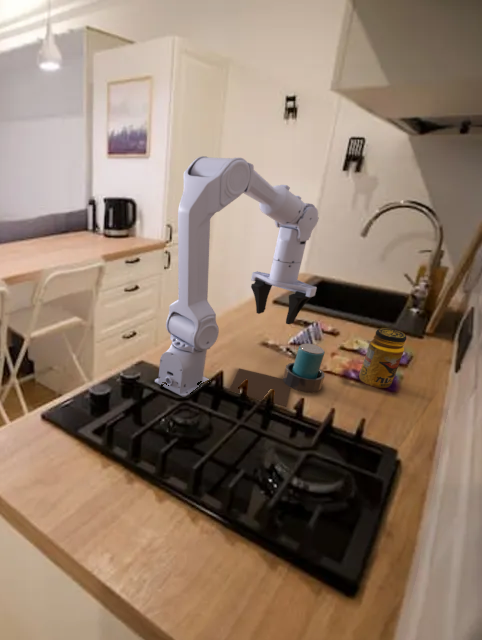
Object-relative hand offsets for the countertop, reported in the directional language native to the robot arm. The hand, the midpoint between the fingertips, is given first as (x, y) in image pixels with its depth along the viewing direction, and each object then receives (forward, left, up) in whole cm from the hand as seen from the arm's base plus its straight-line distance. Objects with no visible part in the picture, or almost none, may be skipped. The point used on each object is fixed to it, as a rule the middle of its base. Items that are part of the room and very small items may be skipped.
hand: (274, 317), depth 94 cm
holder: (-7, -12, -10) cm, 17 cm away
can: (-7, -12, -10) cm, 16 cm away
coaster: (-15, -7, -10) cm, 19 cm away
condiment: (+6, -21, -10) cm, 24 cm away
